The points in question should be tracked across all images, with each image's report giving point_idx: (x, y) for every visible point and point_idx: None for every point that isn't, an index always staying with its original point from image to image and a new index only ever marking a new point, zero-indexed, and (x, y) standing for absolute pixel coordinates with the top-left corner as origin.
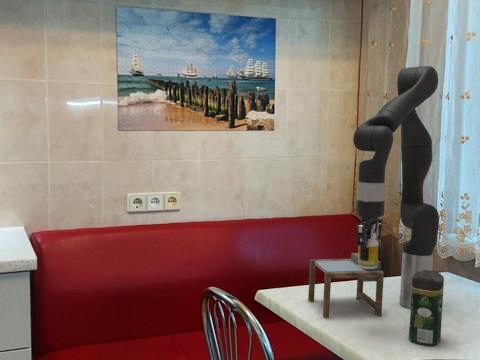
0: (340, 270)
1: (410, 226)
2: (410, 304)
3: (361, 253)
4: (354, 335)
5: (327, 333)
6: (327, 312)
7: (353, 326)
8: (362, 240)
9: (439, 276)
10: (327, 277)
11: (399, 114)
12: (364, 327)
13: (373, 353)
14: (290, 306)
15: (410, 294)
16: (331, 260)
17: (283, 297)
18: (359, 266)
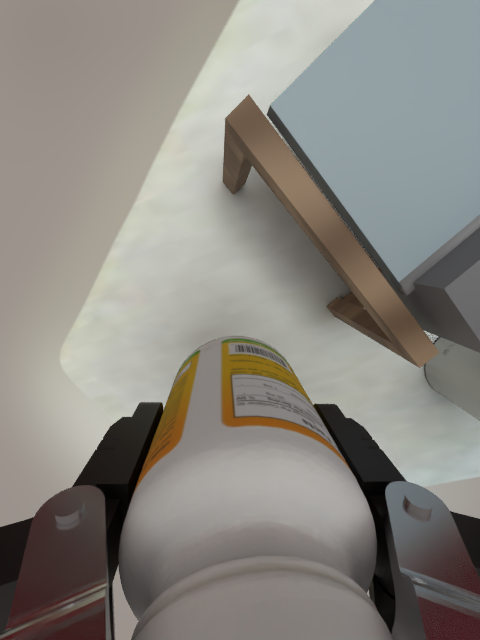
0: (339, 168)
1: None
2: (434, 365)
3: (97, 455)
4: (155, 305)
5: (118, 239)
6: (229, 185)
7: (213, 280)
8: (75, 591)
9: None
10: (230, 134)
11: None
12: (225, 307)
13: (83, 378)
14: (259, 15)
15: (458, 377)
16: None
17: None
18: (188, 357)
